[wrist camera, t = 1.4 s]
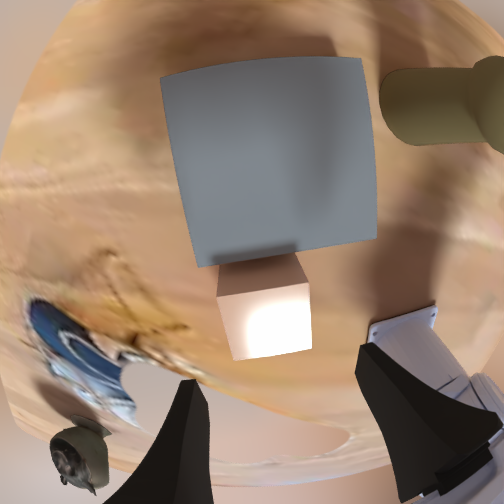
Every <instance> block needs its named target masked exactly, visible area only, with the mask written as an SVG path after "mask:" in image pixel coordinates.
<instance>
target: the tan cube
mask: <svg viewBox="0 0 504 504" xmlns="http://www.w3.org/2000/svg"><path fill="white" fill-rule="evenodd" d="M216 298H217V302H218V305H219V309H220V313H221V317H222V320H223V324H224V328H225V331H226V335H227V339H228V342H229V346H230V349H231V353H232V356H233V359H234V361H235V360H243V359H251V358H258V357H265V356H271V355H277V354H283V353H289V352H294V351H300V350H305V349H310V348H311V318H310V294H309V281H308V279H307V277H306V275H305V273H304V271H303V269H302V267H301V265H300V263H299V261H298V258H297V256H296V254H295V252H293V253H287V254H281V255H275V256H269V257H262V258H256V259H250V260H244V261H237V262H231V263H225V264H220V269H219V278H218V287H217V296H216Z"/></svg>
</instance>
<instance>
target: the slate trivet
mask: <svg viewBox="0 0 504 504" xmlns="http://www.w3.org/2000/svg"><path fill="white" fill-rule="evenodd" d="M160 83H161V90H162V97H163V103H164V109H165V116H166V122H167V128H168V133H169V139H170V144H171V150H172V155H173V160H174V165H175V170H176V175H177V180H178V185H179V190H180V194H181V199H182V203H183V208H184V212H185V217H186V221H187V225H188V229H189V234H190V238H191V242H192V246H193V250H194V254H195V258H196V262H197V266H198V268H199V267H206V266H212V265H219V264H225V263H231V262H237V261H244V260H250V259H256V258H262V257H269V256H275V255H281V254H287V253H293V252H299V251H305V250H311V249H317V248H323V247H329V246H335V245H341V244H347V243H353V242H359V241H365V240H371V239H377V184H376V165H375V151H374V139H373V130H372V121H371V113H370V106H369V99H368V93H367V87H366V81H365V75H364V70H363V65H362V61H361V58H349V57H326V56H302V57H279V58H266V59H255V60H247V61H239V62H232V63H225V64H219V65H214V66H208V67H203V68H198V69H194V70H189V71H185V72H181V73H177V74H173V75H169V76H165V77H162V78H160Z"/></svg>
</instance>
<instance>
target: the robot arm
mask: <svg viewBox="0 0 504 504" xmlns="http://www.w3.org/2000/svg"><path fill="white" fill-rule="evenodd" d="M437 311H438V307H437V306H436V305H433V306H430V307H427V308H424V309H421V310H418V311H415V312H412V313H408V314H405V315H402V316H399V317H395V318H392V319H388V320H385V321H381V322H377V323H374V324H372V325H371V326H370V328H369V335H368V342H367V343H366V344H363V345H360V349H359V354H358V359H357V364H356V369H355V375H356V378H357V381H358V384H359V387H360V389H361V392H362V394H363V396H364V398H365V400H366V402H367V404H368V406H369V408H370V410H371V412H372V414H373V416H374V418H375V419H376V421H377V423H378V425H379V427H380V430H381V432H382V434H383V437H384V440H385V443H386V446H387V449H388V452H389V455H390V459H391V462H392V466H393V470H394V474H395V479H396V484H397V489H398V496H399V499H400V502H401V503H404V502H406V501H408V500H410V499H412V498H414V497H416V496H418V495H420V496H421V497H422V498H421V499H419V500H417V501H416V502H414V503H412V504H504V394H503V393H502V391H501V390H500V389H499V387H498V386H497V385H496V384H495V383H494V382H493V380H492V379H491V378H490V377H489V376H487V374H485V373H475V374H474V375H473V376H472V377H470V376H468V374H467V373H466V372H465V370H464V369H463V368H462V366H461V365H460V364H459V362H458V361H457V360H456V358H455V357H454V356H453V354H452V353H451V352H450V351H449V349H448V348H447V347H446V346H445V344H444V343H443V342H442V341H441V339H440V338H439V337H438V336H437V334H436V333H435V332H434V331H433V330H432V328H433V325H434V322H435V318H436V314H437ZM209 439H210V422H209V411H208V403H207V401H206V399H205V397H204V395H203V393H202V391H201V389H200V388H199V385H198V383H197V381H196V379H191V380H182V381H181V382H180V384H179V387H178V390H177V393H176V395H175V398H174V401H173V403H172V406H171V408H170V410H169V412H168V415H167V417H166V419H165V421H164V423H163V426H162V428H161V429H160V431H159V434H158V435H157V437H156V439H155V441H154V443H153V444H152V446H151V448H150V449H149V451H148V453H147V454H146V456H145V457H144V459H143V460H142V462H141V463H140V464H139V466H138V467H137V469H136V470H135V471H134V472H133V474H132V475H131V476H130V477H129V478H128V480H127V481H126V482H125V483H124V484H123V485H122V486H121V487H120V488H119V489H118V490H117V491H116V492H115V493H114V494H113V495H112V496H111V497H110V498H109V499H107V500H106V501H105V502H104V503H103V504H214V502H213V495H212V489H211V481H210V473H209V441H210V440H209Z"/></svg>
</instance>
